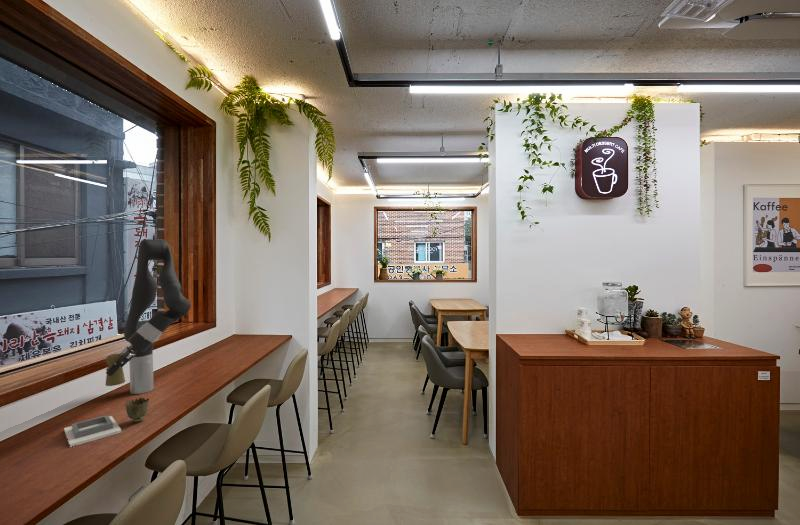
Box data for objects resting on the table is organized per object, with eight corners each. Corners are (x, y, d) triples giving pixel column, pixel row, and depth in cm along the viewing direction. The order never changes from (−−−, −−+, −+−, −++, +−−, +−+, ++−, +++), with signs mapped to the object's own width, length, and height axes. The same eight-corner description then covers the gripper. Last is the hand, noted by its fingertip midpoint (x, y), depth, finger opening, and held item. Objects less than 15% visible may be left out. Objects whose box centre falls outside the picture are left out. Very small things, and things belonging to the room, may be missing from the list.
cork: (114, 386, 139) (113, 356, 139) (101, 385, 140) (99, 356, 140) (129, 380, 145) (128, 352, 145) (116, 380, 146) (114, 352, 146)
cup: (154, 418, 147) (153, 398, 147) (135, 426, 140) (134, 405, 140) (140, 416, 149) (139, 396, 149) (121, 424, 143) (120, 403, 142)
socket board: (64, 430, 138) (64, 422, 138) (111, 418, 148) (111, 410, 148) (70, 447, 125) (69, 438, 125) (121, 432, 136) (121, 424, 136)
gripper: (136, 327, 153) (99, 363, 145) (138, 333, 141) (98, 372, 134) (152, 338, 156) (116, 374, 149) (155, 344, 145) (117, 383, 137)
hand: (108, 372), depth 141 cm, fingers closed on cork, 4 cm apart
